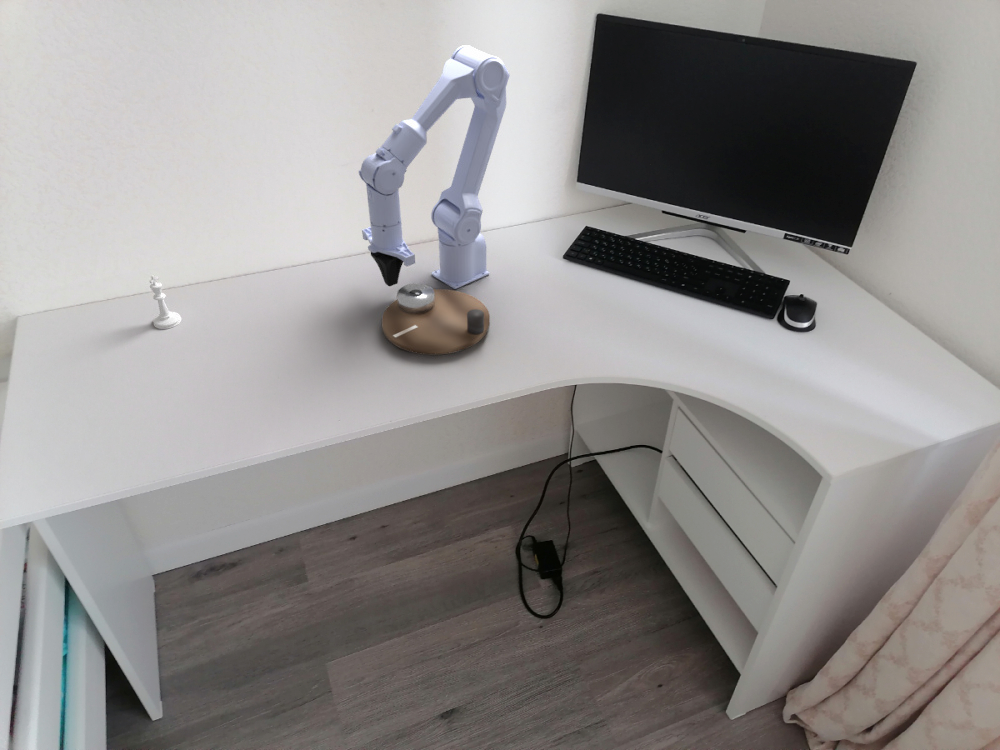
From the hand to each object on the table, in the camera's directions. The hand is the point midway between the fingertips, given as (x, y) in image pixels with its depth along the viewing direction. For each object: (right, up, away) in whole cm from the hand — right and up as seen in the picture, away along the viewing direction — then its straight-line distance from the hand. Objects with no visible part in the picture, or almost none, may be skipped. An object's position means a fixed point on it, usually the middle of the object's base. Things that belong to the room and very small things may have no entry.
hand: (391, 283), depth 143 cm
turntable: (+9, -8, -7) cm, 14 cm away
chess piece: (-42, -8, -5) cm, 43 cm away
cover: (+5, -4, -4) cm, 8 cm away
